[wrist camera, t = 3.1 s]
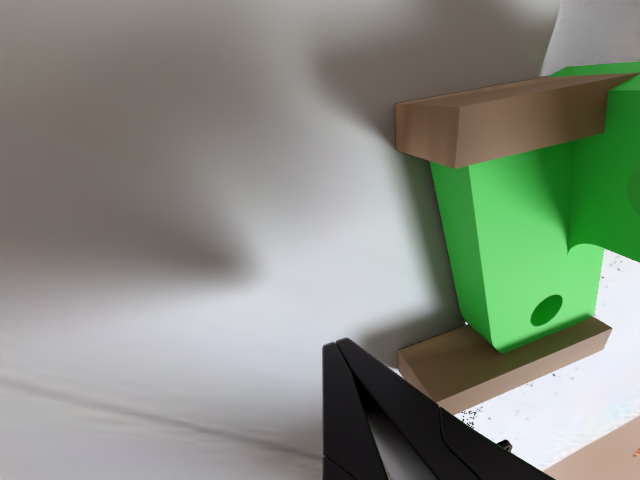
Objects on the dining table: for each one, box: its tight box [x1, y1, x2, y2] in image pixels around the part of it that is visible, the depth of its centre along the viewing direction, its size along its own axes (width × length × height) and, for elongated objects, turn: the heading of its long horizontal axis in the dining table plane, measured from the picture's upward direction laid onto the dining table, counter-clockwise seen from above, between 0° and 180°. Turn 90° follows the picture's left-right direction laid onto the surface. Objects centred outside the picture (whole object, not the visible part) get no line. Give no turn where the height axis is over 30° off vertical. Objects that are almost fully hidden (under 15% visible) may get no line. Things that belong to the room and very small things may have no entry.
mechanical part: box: [429, 61, 640, 354], centre depth 10 cm, size 12×6×8 cm, turn 23°
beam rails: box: [395, 72, 640, 415], centre depth 13 cm, size 13×10×3 cm
